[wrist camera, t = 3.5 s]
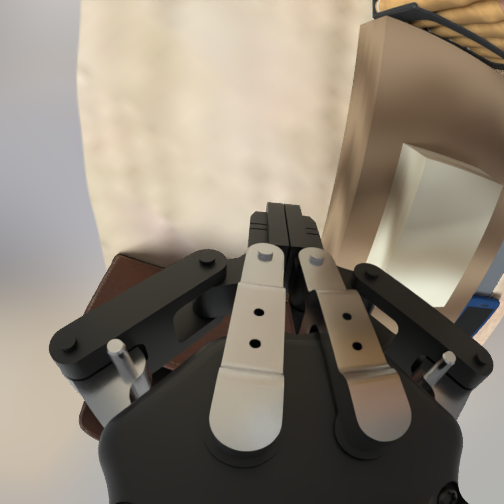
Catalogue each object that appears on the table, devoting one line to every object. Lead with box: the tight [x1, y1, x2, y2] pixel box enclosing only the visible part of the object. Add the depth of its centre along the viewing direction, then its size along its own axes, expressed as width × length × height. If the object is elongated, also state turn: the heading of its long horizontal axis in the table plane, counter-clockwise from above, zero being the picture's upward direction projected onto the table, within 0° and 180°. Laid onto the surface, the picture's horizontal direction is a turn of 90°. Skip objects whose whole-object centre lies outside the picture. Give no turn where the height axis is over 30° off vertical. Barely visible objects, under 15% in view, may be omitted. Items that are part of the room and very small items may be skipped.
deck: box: [321, 16, 504, 334], centre depth 17 cm, size 22×14×4 cm, turn 175°
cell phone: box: [454, 295, 500, 338], centre depth 27 cm, size 7×14×1 cm, turn 169°
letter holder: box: [79, 254, 291, 441], centre depth 21 cm, size 10×20×14 cm, turn 71°
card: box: [366, 143, 503, 307], centre depth 14 cm, size 9×6×2 cm, turn 175°
